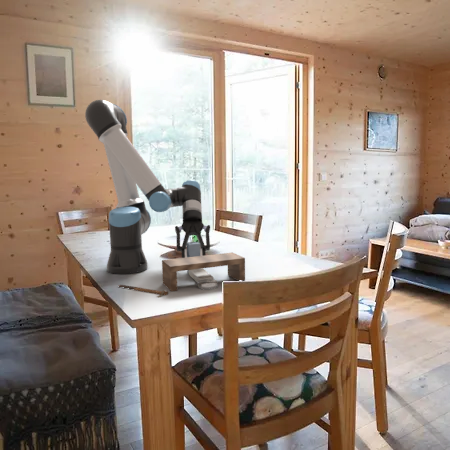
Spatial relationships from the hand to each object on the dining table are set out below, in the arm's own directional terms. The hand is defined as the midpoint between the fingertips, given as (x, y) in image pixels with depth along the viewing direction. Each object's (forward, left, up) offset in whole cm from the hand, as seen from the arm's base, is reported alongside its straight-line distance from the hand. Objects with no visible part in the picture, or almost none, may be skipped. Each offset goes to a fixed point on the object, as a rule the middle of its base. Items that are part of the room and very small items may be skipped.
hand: (193, 266), depth 151 cm
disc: (-1, -15, -4) cm, 16 cm away
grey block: (+1, -3, -3) cm, 5 cm away
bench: (0, -10, -3) cm, 10 cm away
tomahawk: (-21, -11, -4) cm, 24 cm away
